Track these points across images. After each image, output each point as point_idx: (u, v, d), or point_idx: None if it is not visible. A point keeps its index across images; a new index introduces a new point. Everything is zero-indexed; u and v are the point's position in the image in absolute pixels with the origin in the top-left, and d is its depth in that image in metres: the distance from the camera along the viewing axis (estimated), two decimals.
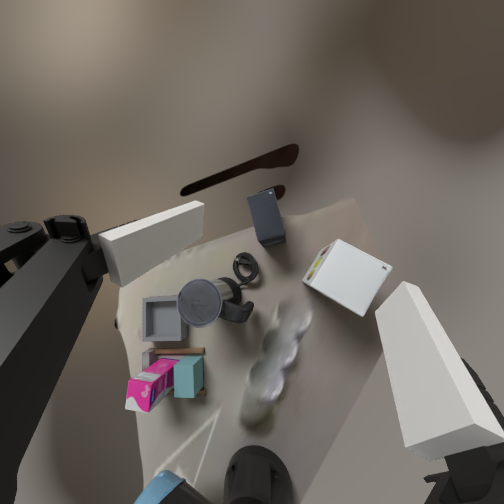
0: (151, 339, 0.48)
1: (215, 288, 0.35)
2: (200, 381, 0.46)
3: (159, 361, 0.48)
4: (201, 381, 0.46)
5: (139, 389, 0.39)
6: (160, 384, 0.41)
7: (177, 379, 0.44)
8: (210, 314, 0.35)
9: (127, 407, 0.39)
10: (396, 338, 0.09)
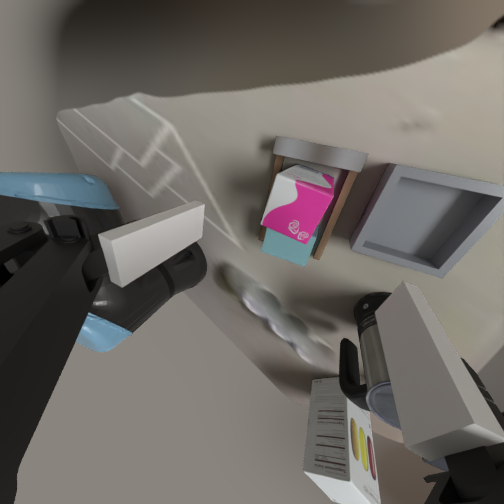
0: (387, 188, 0.21)
1: None
2: None
3: None
4: None
5: (305, 219, 0.18)
6: None
7: None
8: (381, 407, 0.22)
9: (278, 182, 0.18)
10: (396, 338, 0.09)
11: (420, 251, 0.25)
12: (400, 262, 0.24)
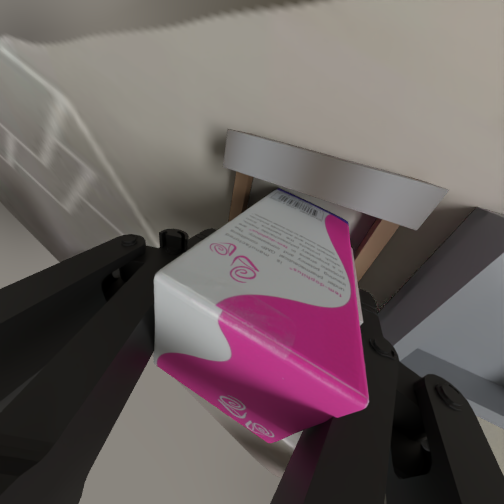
0: (483, 279, 0.09)
1: None
2: None
3: None
4: None
5: (263, 408, 0.06)
6: None
7: None
8: None
9: (165, 299, 0.05)
10: None
11: None
12: (473, 409, 0.12)
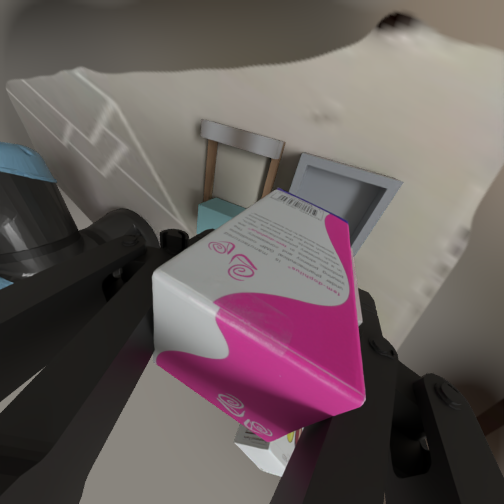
0: (297, 176, 0.23)
1: None
2: None
3: None
4: None
5: (261, 406, 0.06)
6: None
7: (219, 219, 0.27)
8: None
9: (163, 296, 0.05)
10: None
11: None
12: None
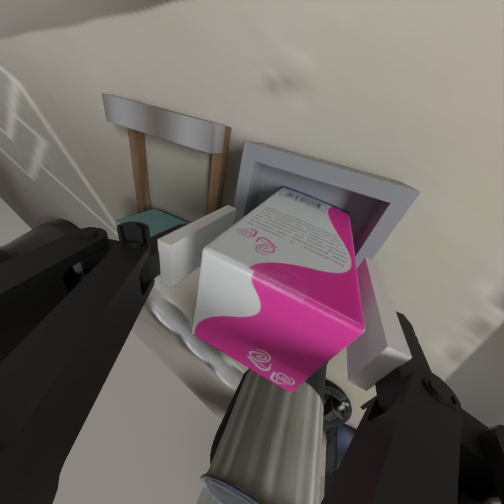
0: (242, 180, 0.14)
1: None
2: None
3: None
4: None
5: (285, 354, 0.07)
6: None
7: None
8: (223, 499, 0.15)
9: (210, 267, 0.06)
10: None
11: None
12: None
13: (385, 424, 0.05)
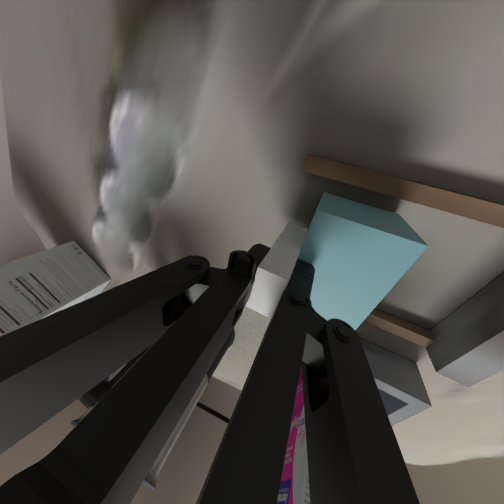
0: (394, 390, 0.15)
1: None
2: (312, 220, 0.13)
3: None
4: (314, 214, 0.13)
5: None
6: (285, 455, 0.15)
7: (359, 295, 0.10)
8: None
9: None
10: None
11: None
12: None
13: (264, 337, 0.06)
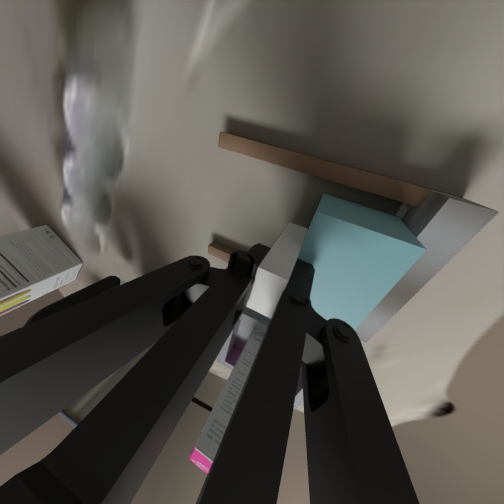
0: None
1: None
2: None
3: None
4: None
5: None
6: None
7: (357, 297, 0.10)
8: None
9: None
10: None
11: (240, 340, 0.24)
12: None
13: (264, 337, 0.06)
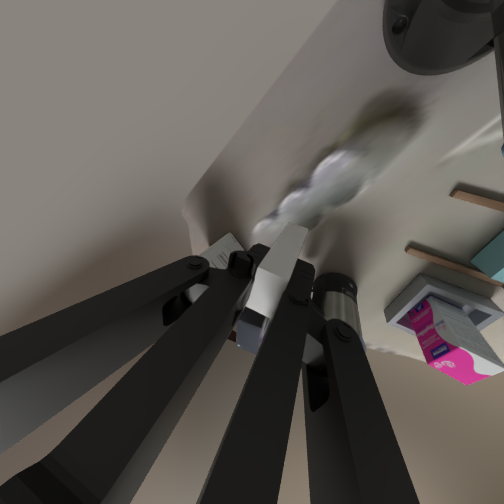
0: (484, 308, 0.29)
1: None
2: None
3: None
4: None
5: (453, 370, 0.27)
6: (428, 341, 0.29)
7: None
8: None
9: (499, 368, 0.24)
10: None
11: None
12: (405, 308, 0.34)
13: (264, 337, 0.06)
